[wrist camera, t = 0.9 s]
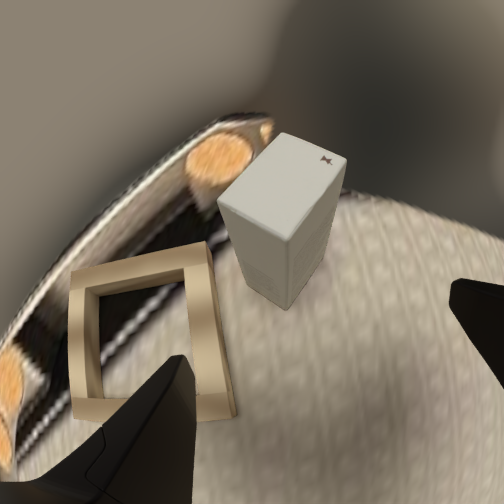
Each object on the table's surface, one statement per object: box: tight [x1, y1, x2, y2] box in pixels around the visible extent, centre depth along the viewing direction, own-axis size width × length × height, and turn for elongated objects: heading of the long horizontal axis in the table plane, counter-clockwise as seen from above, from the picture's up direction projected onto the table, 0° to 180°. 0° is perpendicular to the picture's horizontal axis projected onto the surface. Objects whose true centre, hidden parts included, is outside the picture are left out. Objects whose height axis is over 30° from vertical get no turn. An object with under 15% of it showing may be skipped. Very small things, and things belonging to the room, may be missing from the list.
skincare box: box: [217, 133, 347, 310], centre depth 18 cm, size 6×4×12 cm
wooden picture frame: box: [68, 241, 237, 422], centre depth 21 cm, size 14×14×2 cm
